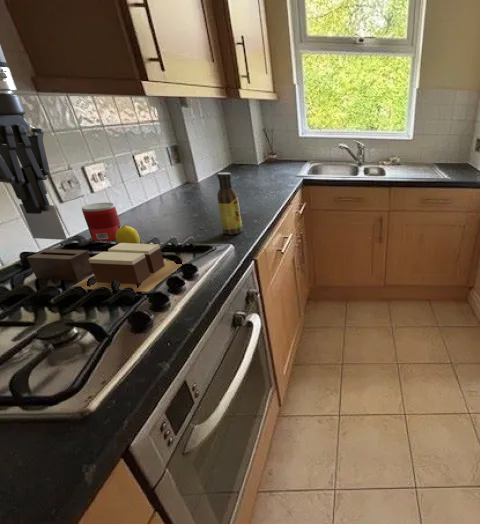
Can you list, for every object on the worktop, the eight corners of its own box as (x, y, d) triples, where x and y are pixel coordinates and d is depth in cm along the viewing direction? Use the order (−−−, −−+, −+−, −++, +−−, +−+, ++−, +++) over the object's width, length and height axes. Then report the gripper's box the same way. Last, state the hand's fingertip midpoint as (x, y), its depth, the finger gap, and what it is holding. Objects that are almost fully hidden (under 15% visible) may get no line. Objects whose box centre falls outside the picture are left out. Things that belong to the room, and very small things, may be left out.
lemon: (115, 254, 95) (106, 227, 91) (132, 246, 100) (124, 221, 96) (131, 256, 94) (123, 229, 90) (147, 249, 98) (140, 223, 95)
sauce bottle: (242, 234, 111) (233, 174, 103) (222, 236, 110) (212, 175, 101) (242, 228, 117) (234, 171, 108) (223, 230, 115) (214, 171, 107)
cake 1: (96, 282, 77) (88, 259, 74) (110, 274, 81) (103, 251, 78) (138, 284, 76) (131, 261, 74) (150, 275, 80) (144, 253, 78)
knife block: (39, 284, 78) (26, 257, 75) (57, 274, 83) (47, 248, 80) (80, 286, 78) (69, 259, 75) (96, 276, 83) (87, 250, 80)
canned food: (129, 238, 106) (119, 204, 101) (100, 246, 99) (88, 210, 95) (117, 233, 109) (106, 201, 104) (88, 241, 103) (76, 206, 98)
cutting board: (71, 293, 75) (69, 288, 74) (122, 263, 89) (120, 258, 89) (149, 297, 74) (147, 291, 74) (187, 266, 89) (186, 261, 88)
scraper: (30, 239, 75) (-1, 167, 68) (37, 236, 77) (7, 165, 70) (63, 240, 75) (35, 168, 68) (69, 238, 76) (42, 167, 70)
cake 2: (115, 271, 82) (107, 249, 79) (127, 264, 86) (120, 242, 83) (154, 273, 82) (148, 251, 79) (165, 265, 86) (159, 244, 83)
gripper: (-34, 91, 56) (22, 222, 66) (46, 94, 70) (83, 203, 80) (-77, 89, 56) (-14, 221, 66) (11, 92, 70) (53, 202, 80)
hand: (39, 211), depth 73 cm, fingers closed on scraper, 2 cm apart
